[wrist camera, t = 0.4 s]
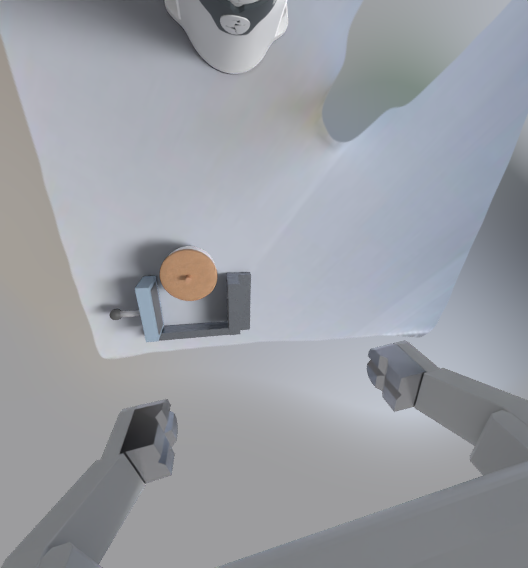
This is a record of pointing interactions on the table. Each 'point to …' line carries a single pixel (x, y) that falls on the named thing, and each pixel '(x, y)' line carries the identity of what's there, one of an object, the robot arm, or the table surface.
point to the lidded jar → (188, 273)
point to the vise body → (236, 313)
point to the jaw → (146, 308)
